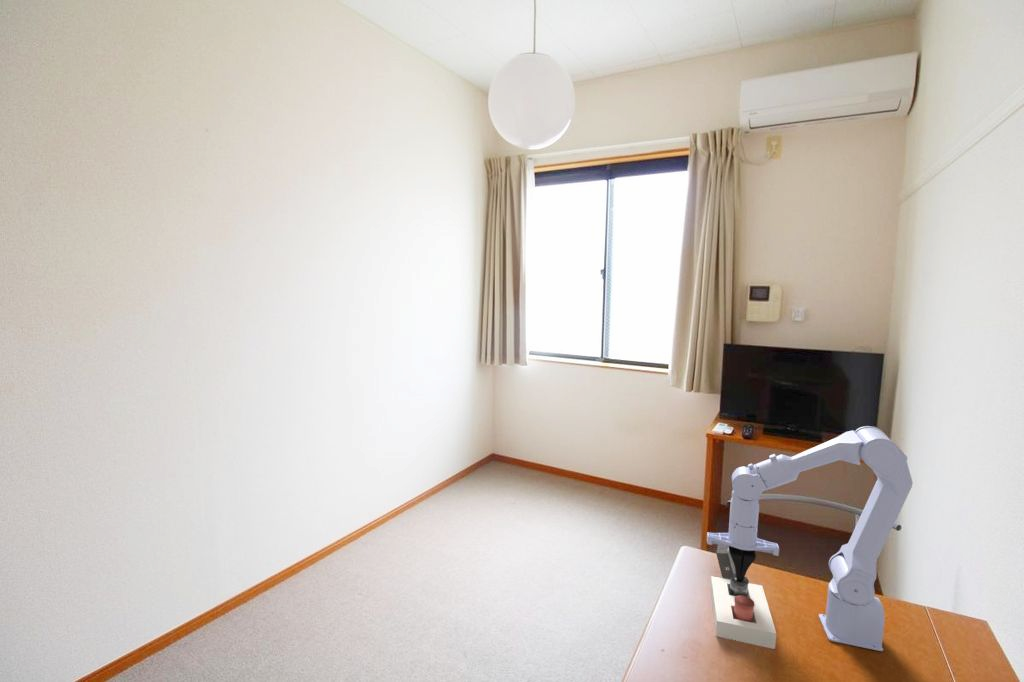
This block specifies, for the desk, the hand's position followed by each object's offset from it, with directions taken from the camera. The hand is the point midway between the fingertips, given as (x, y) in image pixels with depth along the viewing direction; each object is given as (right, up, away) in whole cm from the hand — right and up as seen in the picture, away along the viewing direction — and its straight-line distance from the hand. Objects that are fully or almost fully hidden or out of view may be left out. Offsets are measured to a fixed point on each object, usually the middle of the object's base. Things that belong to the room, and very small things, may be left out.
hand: (739, 577), depth 108 cm
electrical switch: (+3, -6, +11) cm, 13 cm away
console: (-1, -7, -3) cm, 8 cm away
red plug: (-3, -5, -7) cm, 9 cm away
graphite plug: (0, -4, +1) cm, 4 cm away
